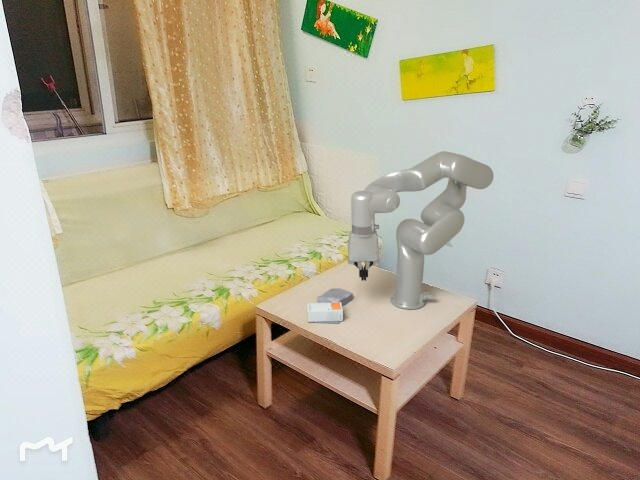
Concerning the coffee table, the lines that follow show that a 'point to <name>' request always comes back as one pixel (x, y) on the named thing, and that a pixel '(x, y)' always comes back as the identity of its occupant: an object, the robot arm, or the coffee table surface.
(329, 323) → the pad
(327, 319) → the skincare box
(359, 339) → the coffee table surface
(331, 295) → the stone block
